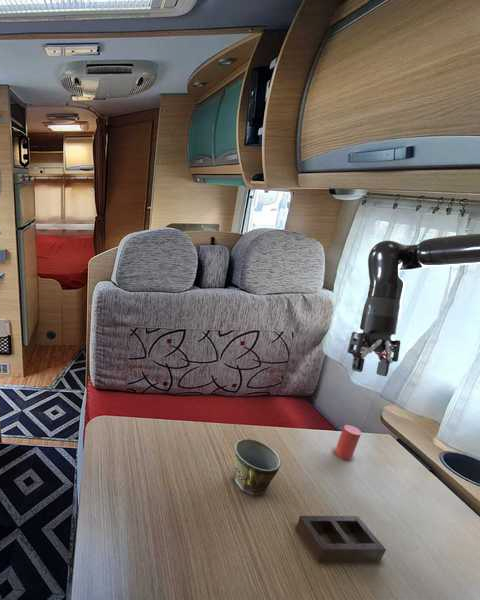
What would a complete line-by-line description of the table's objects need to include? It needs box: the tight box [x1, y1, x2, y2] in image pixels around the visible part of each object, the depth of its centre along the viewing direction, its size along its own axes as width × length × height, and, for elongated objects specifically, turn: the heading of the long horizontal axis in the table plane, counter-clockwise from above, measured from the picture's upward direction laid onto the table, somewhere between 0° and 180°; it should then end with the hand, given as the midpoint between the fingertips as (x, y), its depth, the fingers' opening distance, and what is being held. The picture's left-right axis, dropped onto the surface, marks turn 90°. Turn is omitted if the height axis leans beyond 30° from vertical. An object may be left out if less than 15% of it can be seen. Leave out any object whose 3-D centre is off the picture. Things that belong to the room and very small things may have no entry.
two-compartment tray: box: [295, 515, 387, 563], centre depth 69 cm, size 13×7×4 cm, turn 91°
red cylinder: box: [334, 424, 362, 461], centre depth 91 cm, size 4×4×9 cm
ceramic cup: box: [234, 438, 282, 496], centre depth 80 cm, size 13×10×10 cm
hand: (369, 373), depth 89 cm, fingers open, 8 cm apart
